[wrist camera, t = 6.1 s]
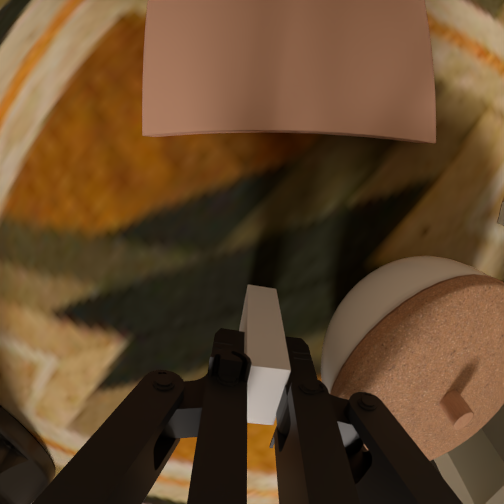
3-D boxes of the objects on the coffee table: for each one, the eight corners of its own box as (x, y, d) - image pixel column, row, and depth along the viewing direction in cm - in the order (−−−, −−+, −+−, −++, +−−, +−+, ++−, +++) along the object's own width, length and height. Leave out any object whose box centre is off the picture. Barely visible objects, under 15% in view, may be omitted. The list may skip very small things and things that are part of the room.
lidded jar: (464, 221, 17) (576, 275, 8) (446, 364, 20) (509, 449, 11) (295, 244, 17) (343, 342, 8) (307, 397, 20) (332, 515, 11)
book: (157, 137, 16) (142, 135, 13) (163, -22, 13) (152, -42, 10) (413, 142, 16) (435, 143, 14) (401, -9, 13) (419, -25, 11)
